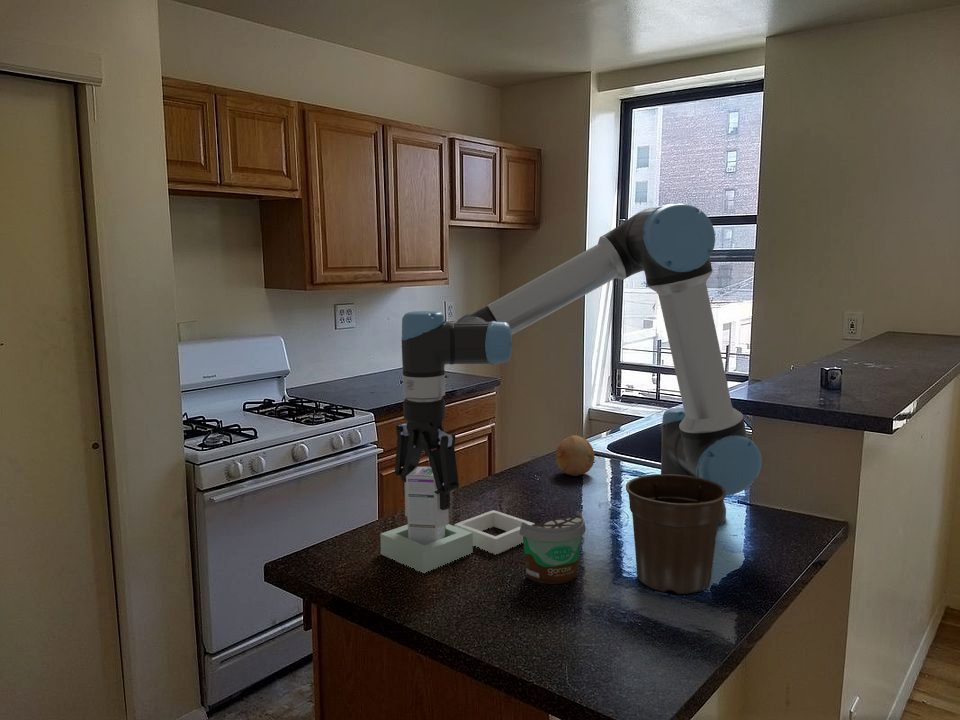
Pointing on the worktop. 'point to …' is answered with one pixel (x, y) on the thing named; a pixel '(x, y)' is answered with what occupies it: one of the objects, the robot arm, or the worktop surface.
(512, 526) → the frame
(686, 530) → the plant pot
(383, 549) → the socket
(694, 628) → the worktop surface
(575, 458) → the onion
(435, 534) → the syrup box
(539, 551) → the food container
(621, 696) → the worktop surface
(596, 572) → the worktop surface
